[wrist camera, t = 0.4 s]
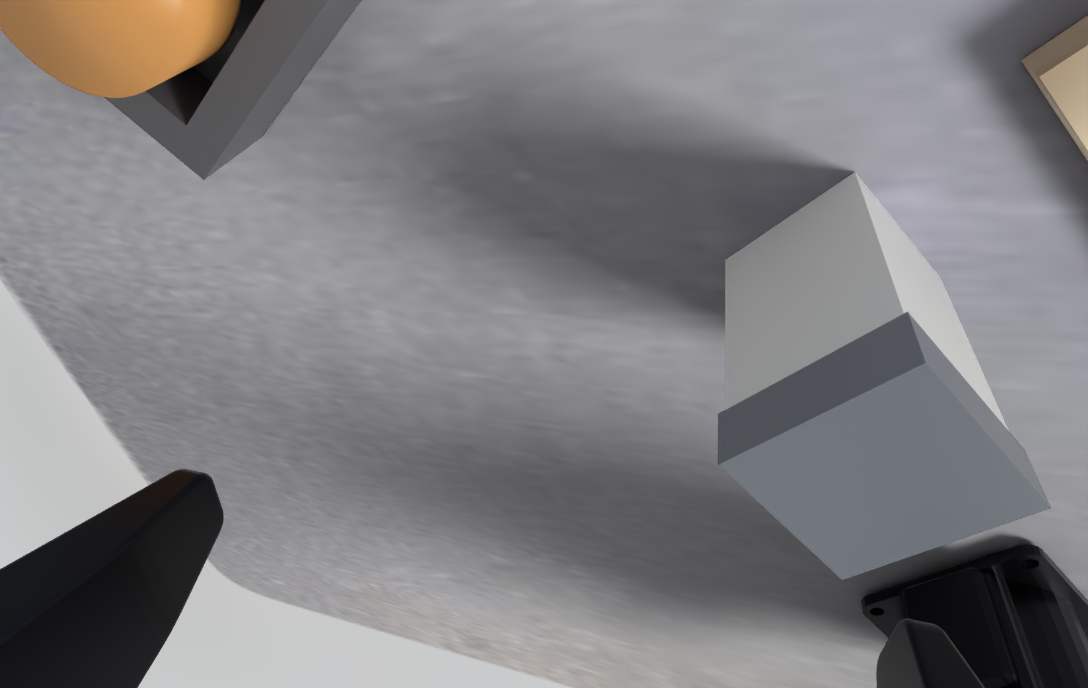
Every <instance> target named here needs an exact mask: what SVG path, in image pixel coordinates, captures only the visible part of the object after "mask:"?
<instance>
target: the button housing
mask: <svg viewBox="0 0 1088 688" xmlns="http://www.w3.org/2000/svg"><path fill="white" fill-rule="evenodd" d="M360 1H361V0H241V6H240V12H239V18H238V21H237V24H236V27H235V30H234V32H233V34H232V36H231V38H230V39H229V41H228V42H227V43H226V45H225V46H224V47H223V48H222V49H221V50H220V51H219V52H218V53H217V54H215V55H213V56H212V57H210V58H209V59H207V60H205V61H203V62H201V63H199V64H197V65H195V66H193V67H191V68H189V69H187V70H185V71H183V72H181V73H179V74H178V75H176V76H174V77H172V78H170V79H168V80H166V81H164V82H162V83H160V84H158V85H156V86H154V87H152V88H150V89H148V90H146V91H144V92H142V93H139V94H137V95H134V96H129V97H124V98H108V97H105V98H106V99H107V100H108V101H109V102H111V103H112V104H113V105H114V106H115V107H117V108H118V109H119V110H120V111H121V112H123V113H124V114H125V115H126V116H127V117H129V118H130V119H131V120H132V121H133V122H135V123H136V124H137V125H138V126H139V127H141V128H142V129H143V130H144V131H146V132H147V133H148V134H149V135H150V136H152V137H153V138H154V139H155V140H156V141H158V142H159V143H160V144H161V145H162V146H164V147H165V148H166V149H167V150H168V151H170V152H171V153H172V154H173V155H174V156H176V157H177V158H178V159H179V160H180V161H182V162H183V163H184V164H185V165H186V166H188V167H189V168H190V169H191V170H192V171H194V172H195V173H196V174H197V175H199V176H200V177H201V178H202V179H203V180H204V179H206V178H207V177H208V176H210V175H211V174H213V173H214V172H215V171H217V170H218V169H219V168H221V167H222V166H223V165H225V164H226V163H227V162H229V161H230V160H231V159H233V158H234V157H235V156H237V155H238V154H239V153H241V152H242V151H244V150H245V149H246V148H248V147H249V146H250V145H252V144H253V143H254V142H256V141H257V140H258V139H260V138H261V137H262V136H263V135H264V134H265V132H266V131H267V129H268V128H269V127H270V125H271V124H272V123H273V121H274V120H275V118H276V117H277V116H278V114H279V113H280V111H281V110H282V109H283V107H284V106H285V105H286V103H287V102H288V100H289V99H290V98H291V96H292V95H293V93H294V92H295V91H296V89H297V88H298V87H299V85H300V84H301V82H302V81H303V80H304V78H305V77H306V76H307V74H308V73H309V71H310V70H311V69H312V67H313V66H314V64H315V63H316V62H317V60H318V59H319V58H320V56H321V55H322V53H323V52H324V51H325V49H326V48H327V46H328V45H329V44H330V42H331V41H332V40H333V38H334V37H335V35H336V34H337V33H338V31H339V30H340V29H341V27H342V26H343V24H344V23H345V22H346V20H347V19H348V17H349V16H350V15H351V13H352V12H353V11H354V9H355V8H356V6H357V5H358V4H359V2H360Z"/></svg>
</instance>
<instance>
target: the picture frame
mask: <svg viewBox="0 0 1088 688" xmlns="http://www.w3.org/2000/svg"><path fill="white" fill-rule="evenodd" d="M1021 61H1022V63H1023V64H1024V66H1025V67H1026V69H1027V70H1028V72H1029V73H1030V75H1031V76H1032V78H1033V79H1034V81H1035V82H1036V84H1037V85H1038V87H1039V88H1040V90H1041V91H1042V93H1043V95H1044V96H1045V98H1046V99H1047V101H1048V102H1049V104H1050V105H1051V107H1052V108H1053V110H1054V111H1055V113H1056V114H1057V116H1058V117H1059V119H1060V120H1061V122H1062V123H1063V125H1064V126H1065V128H1066V129H1067V131H1068V132H1069V134H1070V135H1071V137H1072V138H1073V140H1074V141H1075V143H1076V144H1077V146H1078V147H1079V149H1080V150H1081V152H1082V153H1083V155H1084V156H1085V158H1086V159H1087V161H1088V15H1087V16H1086V17H1084V18H1083V19H1081V20H1080V21H1078V22H1077V23H1075V24H1074V25H1072V26H1071V27H1069V28H1068V29H1066V30H1065V31H1063V32H1062V33H1060V34H1059V35H1057V36H1056V37H1055V38H1053V39H1052V40H1050V41H1049V42H1047V43H1046V44H1044V45H1043V46H1041V47H1040V48H1038V49H1037V50H1035V51H1034V52H1032V53H1031V54H1029V55H1028V56H1026V57H1025V58H1024V59H1022V60H1021Z"/></svg>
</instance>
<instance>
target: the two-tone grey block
mask: <svg viewBox="0 0 1088 688" xmlns="http://www.w3.org/2000/svg"><path fill="white" fill-rule="evenodd" d="M718 466H719V467H721V468H722V469H723V470H724V471H725V472H726V473H727V474H728V475H729V476H730V477H731V478H732V479H734V480H735V481H736V482H737V483H738V484H739V485H740V486H741V487H742V488H743V489H744V490H745V491H746V492H748V493H749V494H750V495H751V496H752V497H753V498H754V499H755V500H756V501H757V502H758V503H759V504H760V505H762V506H763V507H764V508H765V509H766V510H767V511H768V512H769V513H770V514H771V515H772V516H773V517H775V518H776V519H777V520H778V521H779V522H780V523H781V524H782V525H783V526H784V527H785V528H786V529H787V530H789V531H790V532H791V533H792V534H793V535H794V536H795V537H796V538H797V539H798V540H799V541H800V542H801V543H803V544H804V545H805V546H806V547H807V548H808V549H809V550H810V551H811V552H812V553H813V554H814V555H816V556H817V557H818V558H819V559H820V560H821V561H822V562H823V563H824V564H825V565H826V566H827V567H828V568H830V569H831V570H832V571H833V572H834V573H835V574H836V575H837V576H838V577H839V578H840V579H841V580H844V579H847V578H850V577H853V576H856V575H859V574H862V573H865V572H867V571H870V570H873V569H876V568H879V567H882V566H885V565H888V564H891V563H893V562H896V561H899V560H902V559H905V558H908V557H911V556H914V555H917V554H920V553H922V552H925V551H928V550H931V549H934V548H937V547H940V546H943V545H946V544H948V543H951V542H954V541H957V540H960V539H963V538H966V537H969V536H972V535H974V534H977V533H980V532H983V531H986V530H989V529H992V528H995V527H998V526H1000V525H1003V524H1006V523H1009V522H1012V521H1015V520H1018V519H1021V518H1024V517H1027V516H1029V515H1032V514H1035V513H1038V512H1041V511H1044V510H1047V509H1050V508H1051V506H1050V504H1049V502H1048V500H1047V498H1046V496H1045V493H1044V491H1043V489H1042V487H1041V485H1040V482H1039V480H1038V478H1037V476H1036V474H1035V471H1034V469H1033V467H1032V465H1031V463H1030V461H1029V458H1028V456H1027V454H1026V452H1025V450H1024V448H1023V447H1022V446H1021V445H1020V444H1019V443H1018V441H1017V440H1016V439H1015V438H1014V437H1013V435H1012V434H1011V433H1010V432H1009V430H1008V428H1007V426H1006V424H1005V421H1004V419H1003V417H1002V415H1001V412H1000V410H999V408H998V406H997V403H996V401H995V399H994V397H993V394H992V392H991V390H990V388H989V386H988V383H987V381H986V379H985V377H984V374H983V372H982V370H981V368H980V365H979V363H978V361H977V359H976V356H975V354H974V352H973V350H972V347H971V345H970V343H969V341H968V338H967V336H966V334H965V332H964V330H963V327H962V325H961V323H960V321H959V318H958V316H957V314H956V312H955V309H954V307H953V305H952V303H951V300H950V298H949V296H948V294H947V291H946V289H945V287H944V285H943V282H942V280H941V278H940V277H939V275H938V274H937V273H936V272H935V270H934V269H933V268H932V267H931V265H930V264H929V263H928V262H927V260H926V259H925V258H924V257H923V256H922V254H921V253H920V252H919V251H918V249H917V248H916V247H915V246H914V244H913V243H912V242H911V241H910V239H909V238H908V237H907V236H906V234H905V233H904V232H903V231H902V229H901V228H900V227H899V226H898V225H897V223H896V222H895V221H894V220H893V218H892V217H891V216H890V215H889V213H888V212H887V211H886V210H885V208H884V207H883V206H882V205H881V203H880V202H879V201H878V200H877V198H876V197H875V196H874V195H873V194H872V192H871V191H870V190H869V189H868V187H867V186H866V185H865V184H864V182H863V181H862V180H861V179H860V177H859V176H858V175H857V174H856V172H854V173H853V174H851V175H850V176H848V177H847V178H845V179H844V180H842V181H841V182H839V183H838V184H836V185H835V186H833V187H832V188H830V189H829V190H827V191H826V192H825V193H823V194H822V195H820V196H819V197H817V198H816V199H814V200H813V201H811V202H810V203H808V204H807V205H805V206H804V207H802V208H801V209H799V210H798V211H797V212H795V213H794V214H792V215H791V216H789V217H788V218H786V219H785V220H783V221H782V222H780V223H779V224H777V225H776V226H774V227H773V228H771V229H770V230H769V231H767V232H766V233H764V234H763V235H761V236H760V237H758V238H757V239H755V240H754V241H752V242H751V243H749V244H748V245H746V246H745V247H743V248H742V249H741V250H739V251H738V252H736V253H735V254H733V255H732V256H730V257H729V258H727V259H726V260H725V410H724V411H723V412H721V413H719V414H718Z"/></svg>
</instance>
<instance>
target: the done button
mask: <svg viewBox="0 0 1088 688" xmlns="http://www.w3.org/2000/svg"><path fill="white" fill-rule="evenodd" d="M240 6H241V0H0V29H1V30H2V31H3V32H4V34H5V35H6V36H7V37H8V38H9V40H10V41H11V42H12V43H13V44H14V45H15V46H16V47H17V48H18V49H19V50H20V51H21V52H22V53H23V54H24V55H25V56H26V57H27V58H29V59H30V60H31V61H32V62H33V63H34V64H36V65H37V66H38V67H40V68H41V69H42V70H44V71H45V72H46V73H48V74H49V75H51V76H52V77H54V78H56V79H57V80H59V81H60V82H62V83H64V84H66V85H68V86H70V87H72V88H74V89H77V90H80V91H82V92H85V93H88V94H92V95H96V96H100V97H108V98H124V97H129V96H134V95H137V94H139V93H142V92H144V91H146V90H148V89H150V88H152V87H154V86H156V85H158V84H160V83H162V82H164V81H166V80H168V79H170V78H172V77H174V76H176V75H178V74H179V73H181V72H183V71H185V70H187V69H189V68H191V67H193V66H195V65H197V64H199V63H201V62H203V61H205V60H207V59H209V58H210V57H212V56H213V55H215V54H217V53H218V52H219V51H220V50H221V49H222V48H223V47H224V46H225V45H226V43H227V42H228V41H229V39H230V38H231V36H232V34H233V32H234V30H235V27H236V24H237V21H238V18H239V12H240Z"/></svg>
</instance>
